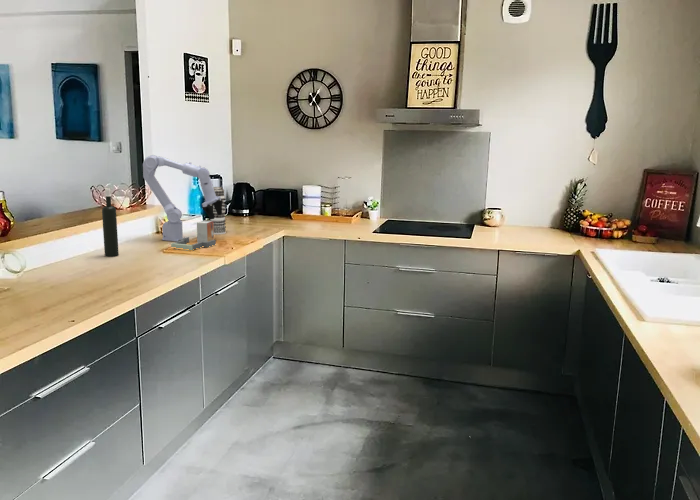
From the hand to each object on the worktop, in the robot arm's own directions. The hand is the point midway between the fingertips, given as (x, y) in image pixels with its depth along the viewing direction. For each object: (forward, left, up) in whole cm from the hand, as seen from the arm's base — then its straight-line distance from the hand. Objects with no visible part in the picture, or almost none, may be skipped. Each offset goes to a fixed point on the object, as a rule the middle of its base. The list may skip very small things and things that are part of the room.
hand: (216, 216), depth 303 cm
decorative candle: (-9, +16, -12) cm, 22 cm away
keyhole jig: (-1, -21, -12) cm, 24 cm away
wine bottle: (-22, -52, -12) cm, 58 cm away
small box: (-1, -8, -12) cm, 15 cm away
